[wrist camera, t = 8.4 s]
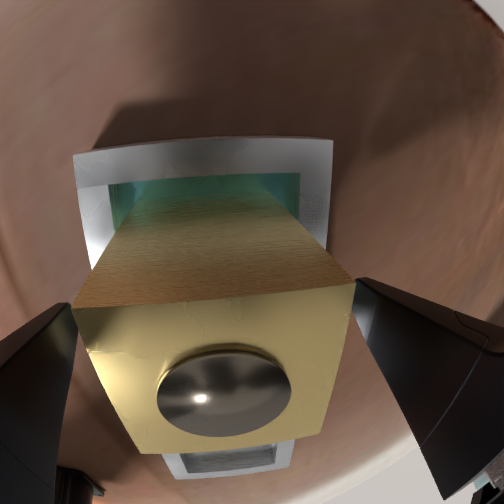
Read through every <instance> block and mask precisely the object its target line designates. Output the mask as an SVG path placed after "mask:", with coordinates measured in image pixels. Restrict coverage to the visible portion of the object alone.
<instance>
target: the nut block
mask: <svg viewBox="0 0 504 504" xmlns="http://www.w3.org/2000/svg"><path fill="white" fill-rule="evenodd" d="M355 286H356V282H355V281H354V280H353V279H352V278H351V277H350V276H349V275H348V273H347V272H346V271H345V270H344V269H343V268H342V267H341V266H340V265H339V264H338V263H337V262H336V260H335V259H334V258H333V257H332V256H331V255H330V254H329V253H328V252H327V251H326V250H325V249H324V248H323V247H322V246H321V245H320V243H319V242H318V241H317V240H316V239H315V238H314V237H313V236H312V235H311V234H310V233H309V232H308V231H307V230H306V229H305V228H304V227H303V226H302V225H301V224H300V223H299V222H298V221H297V220H296V219H295V218H294V217H293V216H292V215H291V214H290V213H289V212H288V211H287V210H286V209H285V208H284V207H283V206H282V205H281V204H280V203H279V202H278V201H277V200H276V199H275V198H274V197H273V196H272V195H271V194H270V193H269V192H247V193H229V194H213V195H199V196H186V197H174V198H163V199H153V200H143V201H136V203H135V204H134V205H133V207H132V208H131V210H130V211H129V213H128V214H127V216H126V217H125V219H124V220H123V222H122V223H121V225H120V226H119V228H118V229H117V231H116V232H115V234H114V235H113V237H112V238H111V240H110V242H109V243H108V245H107V246H106V248H105V250H104V251H103V253H102V254H101V256H100V258H99V259H98V261H97V263H96V264H95V266H94V268H93V269H92V271H91V273H90V274H89V276H88V278H87V280H86V281H85V283H84V285H83V287H82V288H81V290H80V292H79V294H78V296H77V298H76V299H75V301H74V303H73V305H72V307H71V311H72V313H73V316H74V319H75V322H76V324H77V327H78V330H79V332H80V335H81V337H82V340H83V342H84V345H85V347H86V350H87V352H88V354H89V357H90V359H91V361H92V363H93V366H94V368H95V370H96V372H97V374H98V377H99V379H100V381H101V383H102V385H103V387H104V389H105V391H106V393H107V395H108V397H109V399H110V401H111V403H112V405H113V407H114V408H115V410H116V412H117V414H118V416H119V418H120V419H121V421H122V423H123V425H124V426H125V428H126V430H127V432H128V433H129V435H130V437H131V438H132V440H133V442H134V443H135V445H136V446H137V448H138V450H139V451H140V453H141V454H178V453H198V452H211V451H222V450H231V449H240V448H247V447H254V446H261V445H267V444H273V443H278V442H283V441H289V440H293V439H298V438H303V437H307V436H312V435H316V434H320V431H321V427H322V424H323V421H324V418H325V414H326V411H327V408H328V404H329V401H330V397H331V393H332V390H333V386H334V382H335V379H336V375H337V371H338V367H339V363H340V359H341V354H342V350H343V346H344V341H345V337H346V332H347V328H348V323H349V318H350V313H351V308H352V303H353V298H354V292H355Z"/></svg>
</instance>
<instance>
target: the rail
mask: <svg viewBox="0 0 504 504" xmlns="http://www.w3.org/2000/svg"><path fill="white" fill-rule="evenodd" d="M332 159H333V140H329V139H323V138H318V137H308V136H218V137H198V138H183V139H170V140H159V141H149V142H140V143H131V144H124V145H116V146H109V147H102V148H96V149H91V150H87V151H84V152H81V153H78V154H75V155H73V160H74V169H75V178H76V186H77V193H78V200H79V206H80V212H81V218H82V224H83V229H84V234H85V239H86V244H87V249H88V254H89V258H90V262H91V267H92V269H93V268H94V266H95V264H96V263H97V261H98V259H99V258H100V256H101V254H102V253H103V251H104V250H105V248H106V246H107V245H108V243H109V242H110V240H111V238H112V237H113V235H114V234H115V232H116V231H117V229H118V228H119V226H120V225H121V223H122V222H123V220H124V219H125V217H126V216H127V214H128V213H129V211H130V210H131V208H132V207H133V205H134V204H135V203H136V201H143V200H153V199H163V198H174V197H186V196H199V195H213V194H229V193H247V192H269V193H270V194H271V195H272V196H273V197H274V198H275V199H276V200H277V201H278V202H279V203H280V204H281V205H282V206H283V207H284V208H285V209H286V210H287V211H288V212H289V213H290V214H291V215H292V216H293V217H294V218H295V219H296V220H297V221H298V222H299V223H300V224H301V225H302V226H303V227H304V228H305V229H306V230H307V231H308V232H309V233H310V234H311V235H312V236H313V237H314V238H315V239H316V240H317V241H318V242H319V243H320V245H321V246H322V247H323V248H324V249H325V250H326V241H327V230H328V219H329V207H330V193H331V177H332ZM294 442H295V439H293V440H289V441H283V442H278V443H273V444H267V445H261V446H254V447H247V448H240V449H231V450H222V451H211V452H198V453H178V454H162V456H163V458H164V460H165V462H166V463H167V465H168V467H169V469H170V471H171V472H172V474H173V476H174V478H175V479H199V478H213V477H225V476H234V475H242V474H250V473H257V472H263V471H269V470H275V469H280V468H285V467H289V463H290V459H291V455H292V451H293V447H294Z"/></svg>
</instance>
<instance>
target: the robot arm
mask: <svg viewBox="0 0 504 504" xmlns="http://www.w3.org/2000/svg"><path fill="white" fill-rule="evenodd" d="M355 282H356V286H355V292H354V298H353V303H352V311H353V313H354V315H355V318H356V320H357V322H358V325H359V327H360V330H361V332H362V334H363V337H364V339H365V341H366V343H367V345H368V347H369V349H370V351H371V353H372V355H373V357H374V358H375V360H376V362H377V364H378V366H379V368H380V370H381V372H382V373H383V375H384V377H385V379H386V381H387V383H388V385H389V387H390V389H391V391H392V393H393V394H394V396H395V398H396V400H397V402H398V404H399V406H400V408H401V410H402V412H403V414H404V416H405V418H406V420H407V422H408V424H409V426H410V428H411V430H412V432H413V435H414V437H415V439H416V441H417V443H418V445H419V447H420V449H421V452H422V454H423V456H424V458H425V460H426V462H427V465H428V467H429V469H430V471H431V473H432V476H433V478H434V480H435V482H436V485H437V487H438V489H439V492H440V494H441V496H442V498H443V500H446V499H447V498H449V497H451V496H452V495H454V494H455V493H457V492H458V491H460V490H462V489H463V488H464V487H466V486H467V485H469V484H470V483H472V482H473V481H474V480H476V479H477V478H478V477H480V476H481V475H482V474H485V475H486V477H487V479H488V480H489V482H488V483H487V484H485V485H484V486H483V487H482V488H480V489H479V490H478V491H477V492H475V493H474V494H473V497H472V501H471V504H504V327H501V326H498V325H495V324H491V323H488V322H485V321H482V320H479V319H477V318H474V317H471V316H468V315H466V314H463V313H460V312H458V311H453V310H452V309H450V308H447V307H445V306H442V305H439V304H437V303H434V302H432V301H429V300H426V299H424V298H421V297H418V296H416V295H413V294H411V293H408V292H405V291H403V290H400V289H397V288H395V287H392V286H389V285H387V284H384V283H381V282H379V281H376V280H373V279H370V278H368V277H363V278H357V279H355ZM71 307H72V306H71V305H70V304H69V303H67V302H65V303H57V304H55V305H54V306H52V307H51V308H49V309H47V310H46V311H44V312H43V313H41V314H40V315H38V316H37V317H35V318H34V319H32V320H31V321H29V322H28V323H26V324H25V325H23V326H22V327H20V328H19V329H17V330H16V331H14V332H13V333H11V334H10V335H8V336H7V337H6V338H4V339H3V340H1V341H0V504H92V499H93V495H95V496H104V492H103V491H102V490H101V489H100V488H98V487H97V486H96V485H95V484H94V483H93V482H92V481H91V480H90V479H89V478H88V477H87V476H86V475H85V474H84V473H82V472H80V471H74V470H68V469H63V468H57V467H56V465H57V456H58V448H59V441H60V434H61V427H62V421H63V416H64V410H65V405H66V400H67V395H68V390H69V385H70V381H71V376H72V372H73V365H74V358H75V351H76V344H77V337H78V327H77V324H76V322H75V319H74V316H73V313H72V311H71Z"/></svg>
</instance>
